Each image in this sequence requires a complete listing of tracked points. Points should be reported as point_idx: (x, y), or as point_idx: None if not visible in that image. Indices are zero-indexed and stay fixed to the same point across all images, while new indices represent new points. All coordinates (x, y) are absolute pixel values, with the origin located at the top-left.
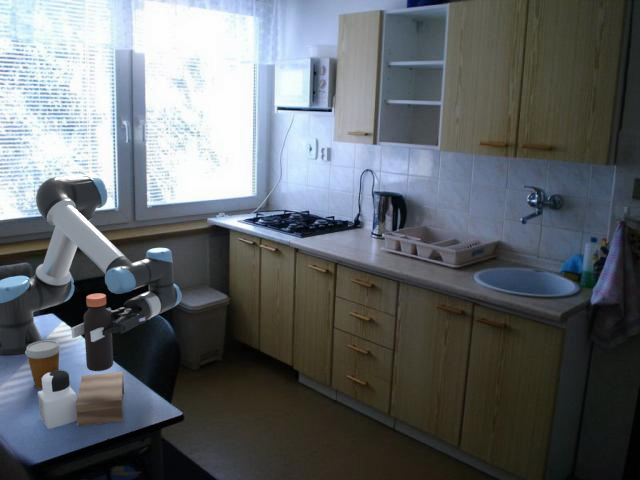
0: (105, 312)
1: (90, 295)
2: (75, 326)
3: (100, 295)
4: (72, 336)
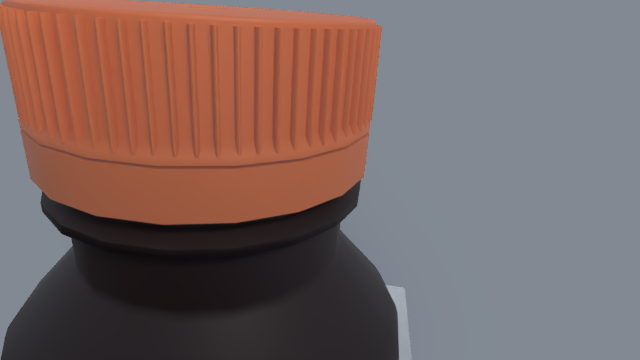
0: (66, 253)
1: (330, 16)
2: (400, 314)
3: (133, 4)
4: None
